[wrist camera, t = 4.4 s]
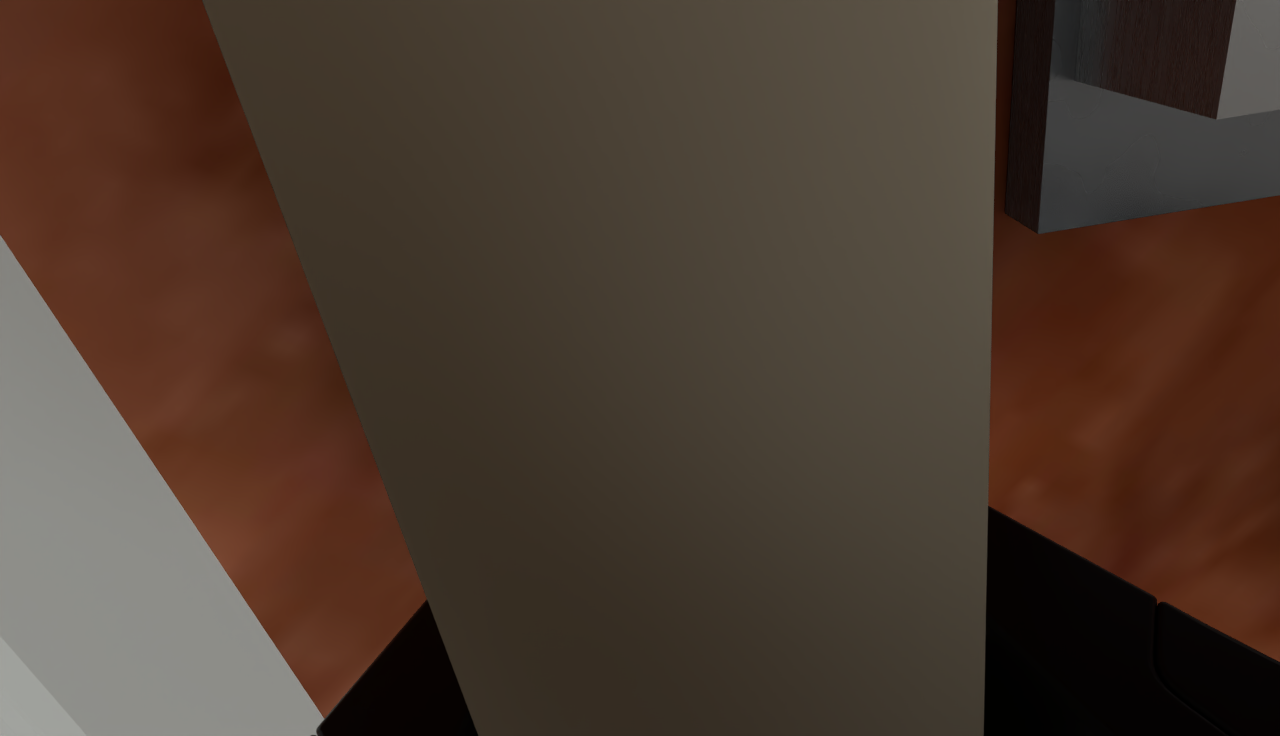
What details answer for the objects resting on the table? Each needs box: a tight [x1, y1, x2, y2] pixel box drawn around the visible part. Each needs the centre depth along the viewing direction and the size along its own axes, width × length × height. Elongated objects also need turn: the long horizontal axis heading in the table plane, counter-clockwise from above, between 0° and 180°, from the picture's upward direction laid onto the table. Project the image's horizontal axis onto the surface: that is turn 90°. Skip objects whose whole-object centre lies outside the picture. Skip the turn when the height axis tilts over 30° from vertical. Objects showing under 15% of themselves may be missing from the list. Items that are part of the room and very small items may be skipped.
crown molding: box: [0, 236, 324, 736], centre depth 21 cm, size 31×12×4 cm, turn 16°
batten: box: [202, 0, 998, 736], centre depth 8 cm, size 3×18×5 cm, turn 10°
